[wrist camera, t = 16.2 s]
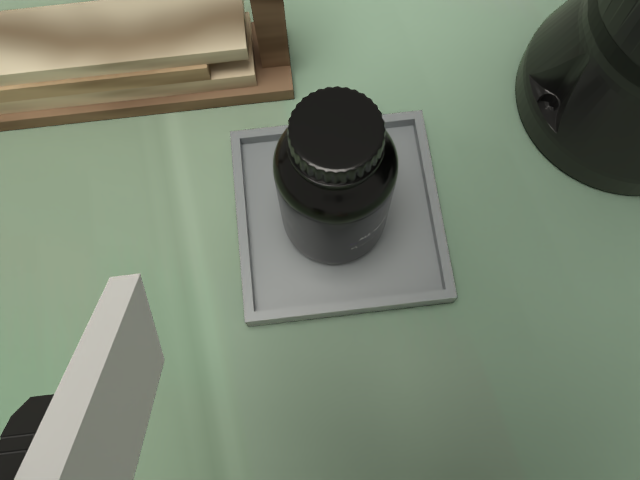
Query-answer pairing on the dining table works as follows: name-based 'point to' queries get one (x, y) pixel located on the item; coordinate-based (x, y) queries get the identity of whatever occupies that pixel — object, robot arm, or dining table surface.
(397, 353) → the dining table surface
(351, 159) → the supplement bottle
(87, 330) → the robot arm
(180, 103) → the walnut rack
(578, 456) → the dining table surface
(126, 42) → the offcut stack
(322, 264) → the grey tray
